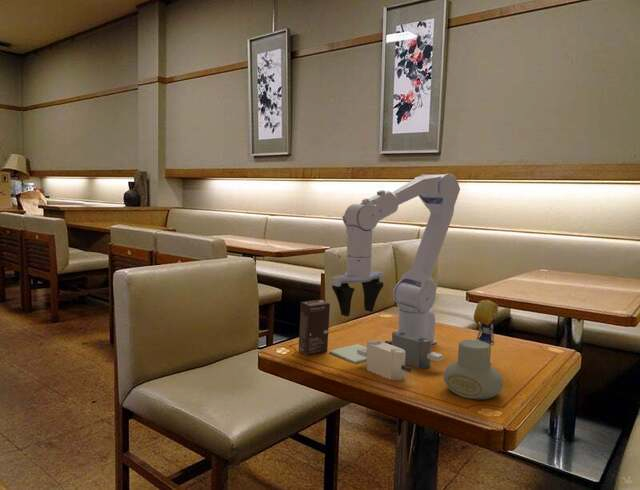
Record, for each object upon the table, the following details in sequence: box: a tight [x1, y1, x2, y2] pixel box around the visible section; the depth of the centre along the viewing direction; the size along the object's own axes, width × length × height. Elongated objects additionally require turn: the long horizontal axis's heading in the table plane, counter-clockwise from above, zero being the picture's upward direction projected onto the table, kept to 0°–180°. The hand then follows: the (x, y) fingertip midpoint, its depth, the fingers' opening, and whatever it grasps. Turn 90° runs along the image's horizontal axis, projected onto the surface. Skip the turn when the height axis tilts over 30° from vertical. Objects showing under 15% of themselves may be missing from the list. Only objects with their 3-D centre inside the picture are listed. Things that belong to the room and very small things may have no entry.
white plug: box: [357, 339, 413, 382], centre depth 102 cm, size 14×4×6 cm, turn 39°
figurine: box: [473, 299, 499, 366], centre depth 108 cm, size 5×5×15 cm
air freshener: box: [443, 339, 504, 401], centre depth 92 cm, size 11×8×10 cm
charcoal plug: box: [384, 331, 444, 369], centre depth 109 cm, size 14×4×6 cm, turn 46°
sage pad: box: [329, 343, 367, 365], centre depth 114 cm, size 9×9×1 cm
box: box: [298, 299, 331, 356], centre depth 115 cm, size 6×4×12 cm
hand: (357, 313), depth 113 cm, fingers open, 7 cm apart
